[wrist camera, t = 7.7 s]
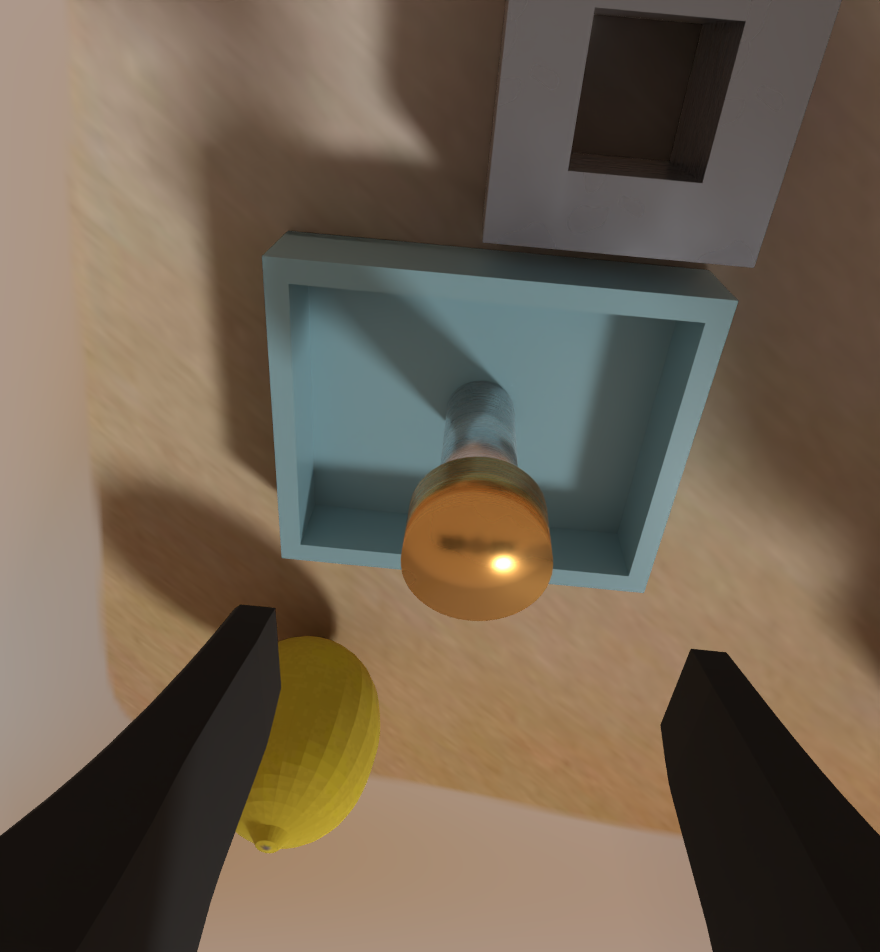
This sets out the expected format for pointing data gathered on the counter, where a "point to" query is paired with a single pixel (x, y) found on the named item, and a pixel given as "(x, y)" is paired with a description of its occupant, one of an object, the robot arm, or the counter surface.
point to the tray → (484, 359)
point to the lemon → (313, 746)
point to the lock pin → (478, 516)
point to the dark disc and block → (696, 142)
